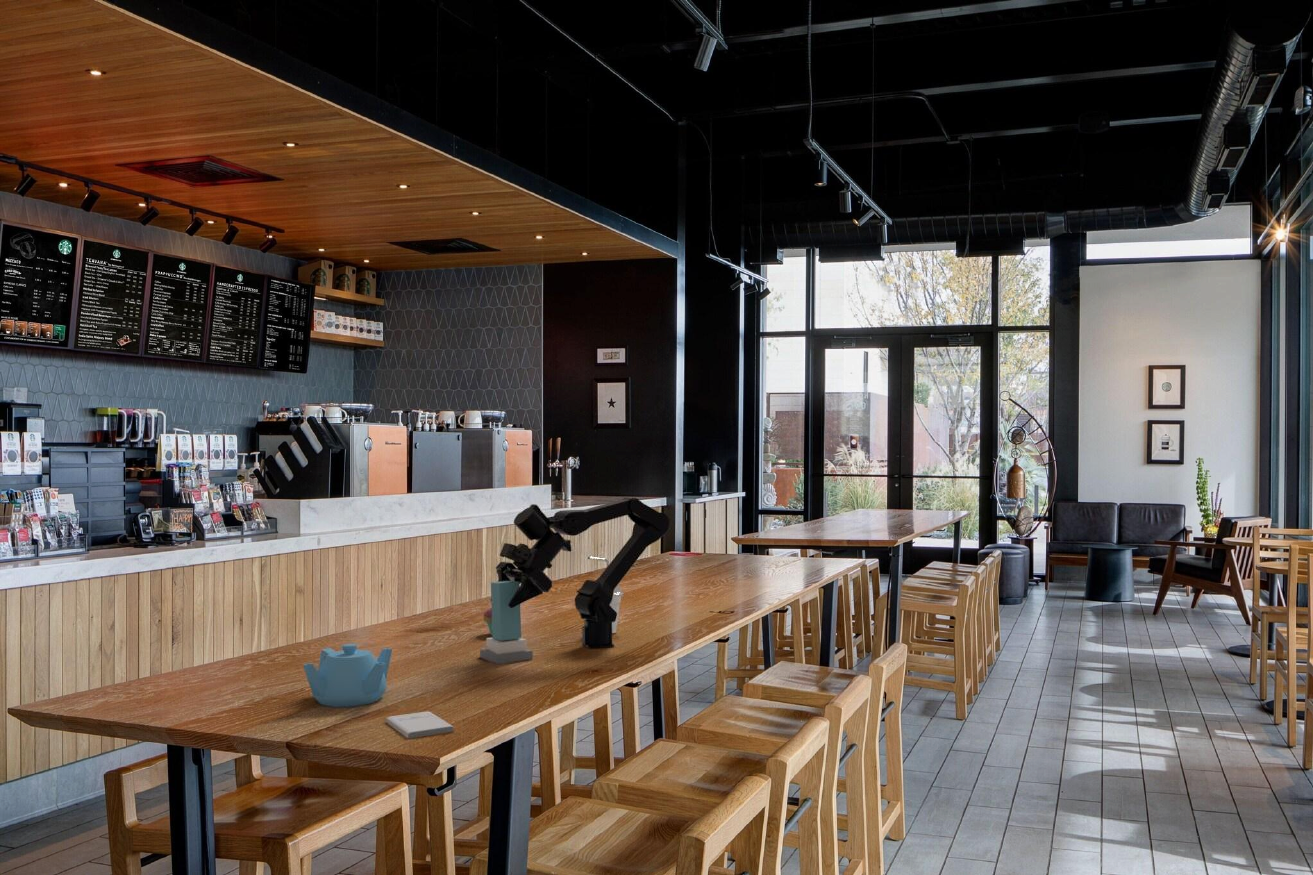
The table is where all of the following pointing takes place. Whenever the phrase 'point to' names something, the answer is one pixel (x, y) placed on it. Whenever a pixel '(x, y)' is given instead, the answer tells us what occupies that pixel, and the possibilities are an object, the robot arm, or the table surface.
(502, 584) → the teal pillar
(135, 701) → the table surface
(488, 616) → the cupcake
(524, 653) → the tower base slab
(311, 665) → the teapot
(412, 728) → the external hard drive
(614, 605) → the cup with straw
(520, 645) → the tower top slab
